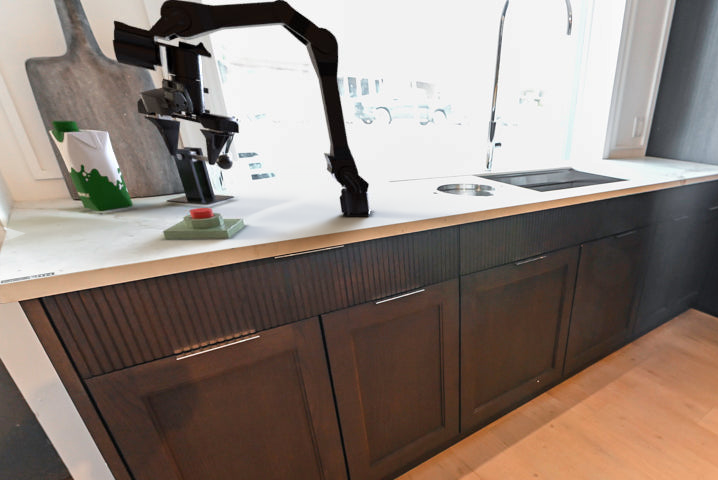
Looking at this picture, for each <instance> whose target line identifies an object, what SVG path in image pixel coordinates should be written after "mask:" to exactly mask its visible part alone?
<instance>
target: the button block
mask: <svg viewBox="0 0 718 480" xmlns="http://www.w3.org/2000/svg"><path fill="white" fill-rule="evenodd" d="M213 215H214V217H211V218H205V219H192V217H191V214H187V215H185V216H183V217H182V219H183V220H181V221H179V222H177V223H175V224H173V225H172V226H170V227H168V228H166V229H165V230H163V231H162V234H163V236H164V239H165V240H195V239H196V240H198V239H199V240H200V239H201V240H205V239H206V240H208V239H211V240H212V239H230V238H231V237H233V236H234V235H235V234H236V233H238V232H239V231H240V230H242V229H243V228H244V227H245V225H246V224H245V222H244V218H223V217H224V216H223V215H222V214H221V213H218V212H213Z"/></svg>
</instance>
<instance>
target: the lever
mask: <svg viewBox="0 0 718 480" xmlns="http://www.w3.org/2000/svg"><path fill="white" fill-rule="evenodd" d="M190 153H191V156H192V160H193V162H194V161H198V160H202V161H205V162H208V157H207V155H206V156H205V155H203V156H200V155H196V151H191V150H190ZM208 163H209V162H208ZM215 164H216V165H217V167H219V168H220V169H221V170H224V171H225V170H226V171H227V170H229V169H232V167H233V165H234V163H233V160H232V157H230V156H228V155H227V154H220V155H219V157H218V159H217V161H216V163H215Z"/></svg>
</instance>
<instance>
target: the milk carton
mask: <svg viewBox="0 0 718 480" xmlns="http://www.w3.org/2000/svg"><path fill="white" fill-rule="evenodd" d="M51 124H52V126H53V129H54V130H49V132H48V133H49V134H50V136H51V138H52V140H53V142H54V143H55V145H56V147H57V148H58V151H59V152H60V155H61V157H62V159H63V163H64V164H65V166H66V169H67V171H68V173H69V175H70V178H71V180H72V182H73V185H74V187H75V190H76V192H77V194H78V197H79V199H80V201H81V203H82V205H83V207H84V209H87V210H92V211H95V212H99V213H97V214H99V215H102V212H106V211H111V210H117V209H123V208H130V207H133V206H134V204H133V201H132V198H131V196H130V193H129V191H128V188H127V185H126V182H125V180H124V177H123V174H122V172H121V169H120V165H119V163H118V161H117V158H116V155H115V152H114V150H113V146H112V142H111V140H110V139H111V138H110V135H109V132H108V131H105V130H104V131H103V130H95V129H79V126H78V124H77V122H76V120H52V121H51ZM100 212H101V213H100Z"/></svg>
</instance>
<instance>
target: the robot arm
mask: <svg viewBox="0 0 718 480" xmlns="http://www.w3.org/2000/svg"><path fill="white" fill-rule="evenodd" d="M159 12H160V13H159V15H160V18H159V19H158V20H157V21H156V22H155V23H154V24H153V25H151V28H149V30H148V29H145V28H141V27H137V26H132V25H129V24H127V23H126V22H125V23H124V22H122V21H118V20H113V26H114V28H113V39H112V46H113V51H114V55H115V59H116V61H117V63H118V64H122V65H126V66H130V67H136V68H140V69H144V70H148V71H153V72H157V71H158V67H161V68H162V67H164V55H163V48H164V49H165V61H166V69H167V71H166V72H167V78H162V80H161V87H159V88H152V89H148V90H146V91H142V92H139V95H140V98H139V99H138V100H137V102H136V108H137V113H138V114H141V115H143V117H144V119H146V120H148V121H149V122H150V123H152V125H153V126H155V127H156V128H157V130H158V132H159V134H160V136H161V138H162V140H163V143H164V144H165V146H166V148H167V151H168V153H169V155H170V156H172V157H174V156H176V155H177V150H178V149H179V140H180V128H181V121H180V120H183V121H188V122H192V123H197V124H200V125H201V126H202V127H203V128H199V131H200V132H201V134H202V136H203V137H204V139H205V147H206V157H208V165H209V166H215V164H217V163H216V161H217V159H218V157H219V155H221V152H222V150H223V148H224V147H225V145H226V144H227V142H228V141H229V140H230V138H231V137H234V136H235V134H240V126H239V123H238V121H237V119H236V118H235V117H230V116H227V115H222V114H215V113H211V110H210V109H206V105H205V104H206V103H205V94H207V95H209V94H210V93H209V88H208V87H205V86H204V81H203V80H204V77H203V63H202V62H203V61H202V57H203V58H208V59H212V58H213V54H212V53H211V52H209V50H207V48H206V46H205V44H204V43H203V42H202V41H199V43H198V44H193V43H189V42H185V41H192V40H195V39H199V38H202V37H206V36H208V35H211V34H214V33H216V32H219V31H224V30H235V29H249V28H258V27H271V26H281V27H283V29H285V30H286V31H287V32H288V33H290V34H291V35H292V36H293V37H294V38H295V39H296V40H297V41H299V42H300V43H301V44H302V45H304V46H305V47H306V51H307V54H308V56H309V59H310V62H311V64H312V67H313V69H314V72H315V74H316V76H317V79H318V84H319V90H320V95H321V100H322V106H323V111H324V116H325V123H326V127H327V133H328V139H329V144H330V145H329V152H324V153H323V155H324V159H325V161H326V171H328V173H330V176H331V177H332V178H333V180H335V181H336V182H337V183H338V184H339V185H340V186H341V190H340V195H339V203H340V204H339V205H340V211H341V213H342V217H370V215H371V212H372V209H371V208H370V200H369V186H370V183H369V182H367V181H366V180H365V179H364V178H363V177H362V176H360V175H359V170H358V167H357V164H356V161H355V158H354V156H353V154H352V153H353V152H351V148H350V147H349V142H348V136H347V131H346V124H345V117H344V113H343V106H342V100H341V95H340V88H339V81H338V72H339V71H338V69H339V43H338V39H337V37H336V36H335V34H333V33H332V31H330V30H329V29H327V28H325V27H320V26H318V25H317V24H315V22H313V21H311V19H309V18H307V17H306V16H305V15H303V14H302V13H300V11H298V10H297V9H295V8H294V7H293V6H292V5H291V4H290V3H289V2H288V1H286V0H274V1H261V2H260V1H259V2H245V3H243V2H242V3H231V4H230V3H228V4H214V5H213V4H206V3H202V2H201V3H200V2H197V1H190V0H165V1H164V2H162V4H161V7H160V11H159ZM176 39H181V40H185V41H181V40H179V41H178V46H177V45H174V44H170V43H164V42H161V41H159V40H162V41H165V42H170V41H173V40H176ZM183 112H184V114H183ZM177 119H180V120H177Z"/></svg>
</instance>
